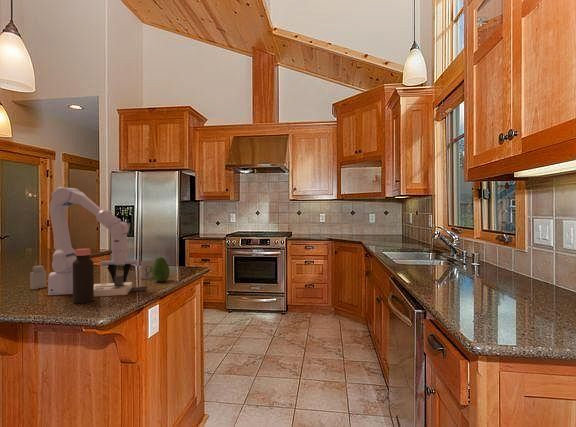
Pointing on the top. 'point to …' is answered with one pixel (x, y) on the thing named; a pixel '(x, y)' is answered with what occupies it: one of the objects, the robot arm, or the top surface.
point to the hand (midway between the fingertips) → (119, 282)
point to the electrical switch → (147, 269)
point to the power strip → (116, 289)
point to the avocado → (160, 270)
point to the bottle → (83, 277)
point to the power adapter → (37, 277)
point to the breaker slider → (118, 280)
